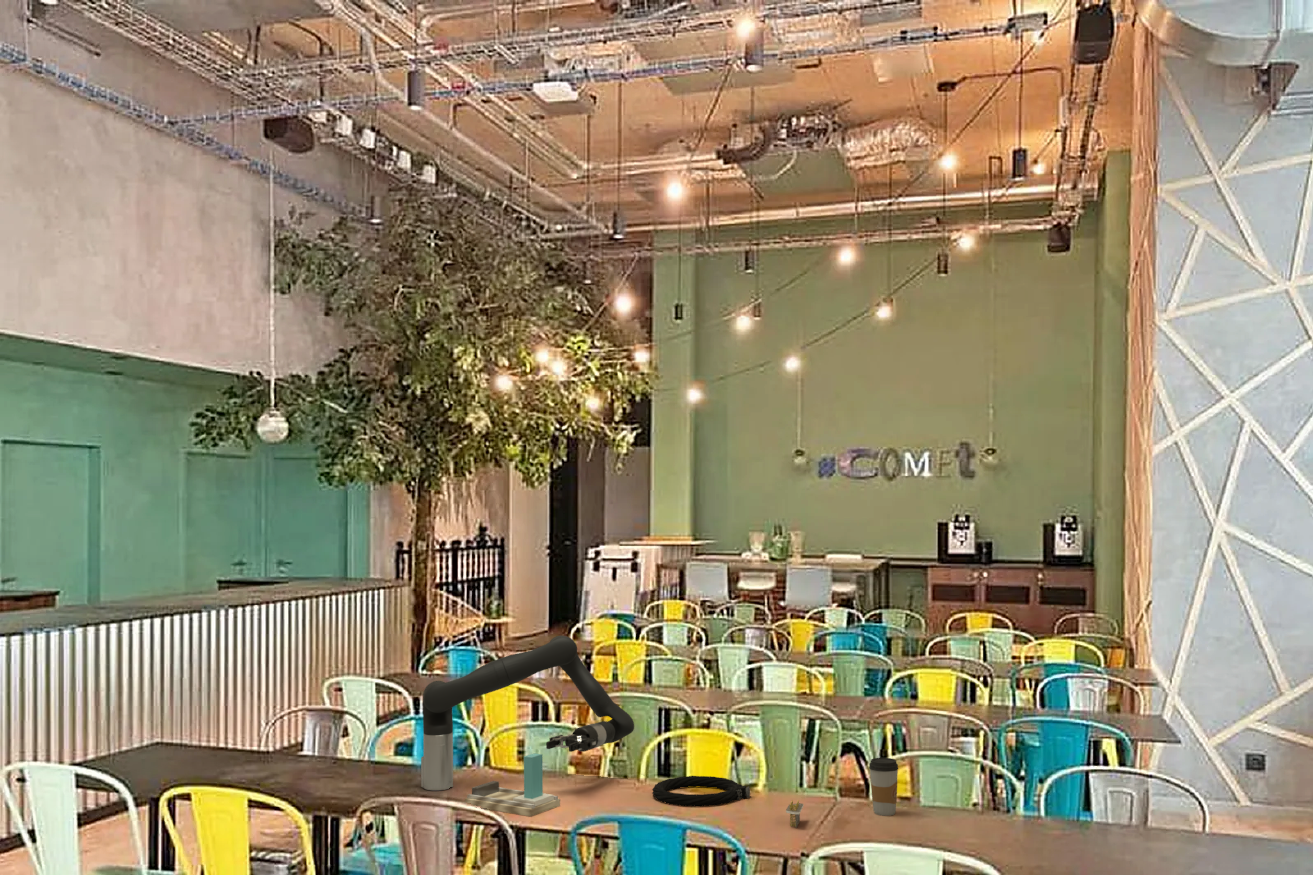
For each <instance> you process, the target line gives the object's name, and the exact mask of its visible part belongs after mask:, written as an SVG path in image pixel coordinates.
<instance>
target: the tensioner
mask: <svg viewBox="0 0 1313 875" xmlns="http://www.w3.org/2000/svg"><path fill="white" fill-rule="evenodd" d="M543 770H544V769H543V754H542V753H530V754H528V755H524V756H523V791H524V795H521V796H518V797H515V798H513V801H516V802H522V803H529V804H535V806H538V805H541V804H544V803H546V802H549V801H552V800H554V796H555V795H554V794H549V793H545V792H543V790H544V789H543V788H544V786H543V783H544V782H543V781H544V780H543V779H544V778H543Z"/></svg>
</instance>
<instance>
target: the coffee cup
mask: <svg viewBox="0 0 1313 875" xmlns="http://www.w3.org/2000/svg"><path fill="white" fill-rule="evenodd" d="M868 768H869V774H870V775H869V776H870V789H871V801H872V809H873V810H872V812H874V814H875V815H877V816H887V817H888V816H889V817H890V816H893V815H895V814H896V811H897V801H898V800H897V798H898V774H899V773H898V772H899V764H898V763H897V760H896V759H895V758H890V757H874V758H871V759H870V762H869V767H868Z"/></svg>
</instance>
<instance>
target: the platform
mask: <svg viewBox="0 0 1313 875" xmlns="http://www.w3.org/2000/svg"><path fill="white" fill-rule="evenodd" d="M799 802H800V800H799V799H797V802H796V803H794V800H793V799H792V800H791V802H790V803H789V804H788V806H787V807H786V810H785V813H786V814H789V815H790V816H789V817H790V818H789V819H790V820H789V822H790V823H789V826H790V827H795V829H797V827H798V826H799V824H800V822H801V812H802V810H803V807H804V803H799Z"/></svg>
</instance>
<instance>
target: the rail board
mask: <svg viewBox="0 0 1313 875" xmlns="http://www.w3.org/2000/svg"><path fill="white" fill-rule="evenodd" d="M521 795H524V790H520V789H512V788H507V787H501V786H500V781H497V780H496V781H495V780H492V781H488V782H486V783H481V784H479V785H476V786H473V787H471V793H468V794H467V795H466V798H464V803H465V802H467V803H471V804H473V805H476V806H481V807H483V808H487V809H486V810H489V809H490V810H489V811H495V812H501V813H508V814H512V815H513V814H514V815H519V816H525V817H534V816H536V815H539V814H542V813H544V812H547V811H550V810H553V809H555V808H557V807H561V799H560V798H559V796H558V795H554V800H552V801H549V802H546V803H544V804H541V805H538V806H535V804H529V803H522V802H516V801H513V798H515V797H518V796H521ZM483 808H482V809H483Z"/></svg>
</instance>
